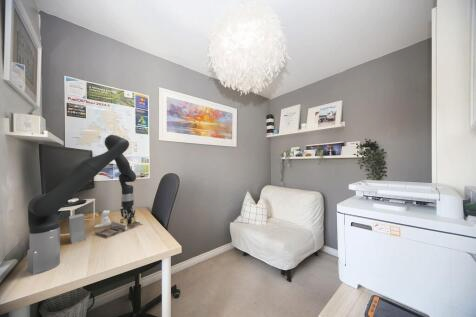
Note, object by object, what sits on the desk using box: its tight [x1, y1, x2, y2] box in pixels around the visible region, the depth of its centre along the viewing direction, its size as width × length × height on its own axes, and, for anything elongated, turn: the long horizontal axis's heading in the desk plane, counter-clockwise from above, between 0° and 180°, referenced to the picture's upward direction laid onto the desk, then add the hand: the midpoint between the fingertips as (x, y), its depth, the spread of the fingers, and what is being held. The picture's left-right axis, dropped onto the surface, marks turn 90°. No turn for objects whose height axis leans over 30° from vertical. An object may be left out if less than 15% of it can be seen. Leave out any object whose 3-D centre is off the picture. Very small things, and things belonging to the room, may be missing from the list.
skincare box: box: [68, 213, 87, 245], centre depth 102 cm, size 8×7×16 cm
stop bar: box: [119, 215, 137, 227], centre depth 123 cm, size 9×4×6 cm, turn 157°
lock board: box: [91, 221, 144, 240], centre depth 117 cm, size 25×16×5 cm, turn 157°
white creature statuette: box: [94, 209, 112, 228], centre depth 126 cm, size 10×9×12 cm
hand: (127, 223), depth 122 cm, fingers open, 3 cm apart
